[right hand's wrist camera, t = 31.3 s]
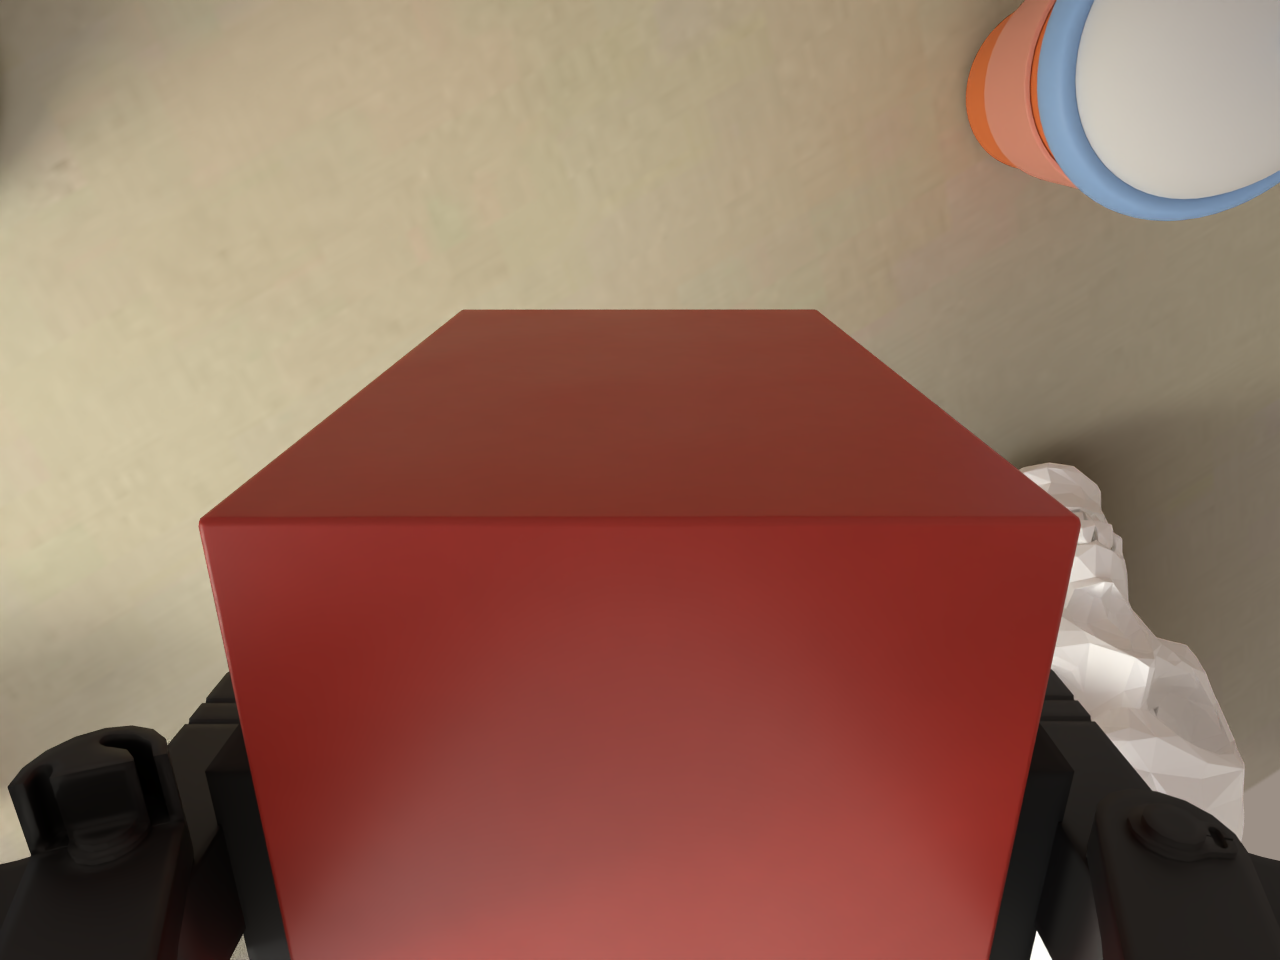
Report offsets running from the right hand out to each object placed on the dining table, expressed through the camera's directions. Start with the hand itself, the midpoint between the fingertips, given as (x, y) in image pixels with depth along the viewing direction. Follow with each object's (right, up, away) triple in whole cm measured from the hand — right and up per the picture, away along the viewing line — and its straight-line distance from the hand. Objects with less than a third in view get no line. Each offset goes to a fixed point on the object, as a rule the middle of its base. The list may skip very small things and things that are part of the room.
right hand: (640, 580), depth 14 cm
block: (0, +1, +3) cm, 3 cm away
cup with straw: (+16, +18, +18) cm, 30 cm away
